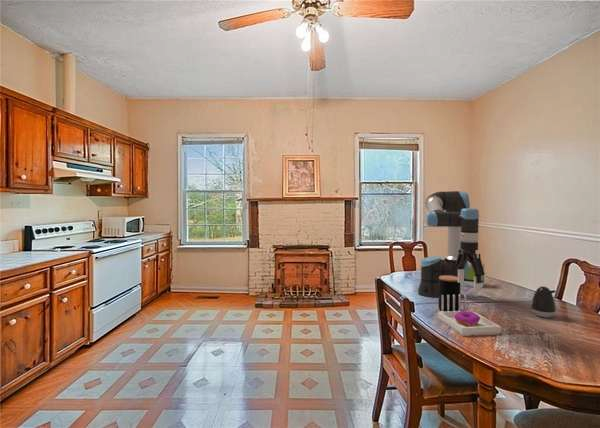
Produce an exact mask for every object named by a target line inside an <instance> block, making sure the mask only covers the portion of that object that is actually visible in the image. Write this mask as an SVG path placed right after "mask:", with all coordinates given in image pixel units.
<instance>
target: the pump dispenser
mask: <svg viewBox="0 0 600 428" xmlns="http://www.w3.org/2000/svg"><path fill="white" fill-rule="evenodd" d="M556 292H557V291H556V290H555V289H554V290H550V289H549V287H547V286H540V287H537V289H536V290H535V292H534V295H533V296H532V300H531V303H530V304H531V305H530V307H531V310H532V313H533V314H534V315H536V316H537V317H540V318H544V319H545V318H546V319H548V318H551V317H553V316H554V315H555V312H556V311H557V309H556V308H557V307H556V301H555V297H554V295H553V294H554V293H555V294H556Z"/></svg>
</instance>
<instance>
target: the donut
mask: <svg viewBox="0 0 600 428" xmlns="http://www.w3.org/2000/svg"><path fill="white" fill-rule="evenodd" d="M469 311H470V310H466V311H464V310H461V311H460V312H458V313H457V314H456V315H455V319H456V321H457V322H458V323H462V324H465V325H468V326H473V325H476V324H477V323H478V322H479V320H480V317H479V316H478V315H477V314H478V313H477V314H475V313H473V312H469Z"/></svg>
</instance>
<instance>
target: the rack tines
mask: <svg viewBox="0 0 600 428" xmlns="http://www.w3.org/2000/svg"><path fill="white" fill-rule="evenodd" d="M461 297H462V295H461V293H460V294H459V307H458V311H462V309H461V307H462V304H461V303H462V301H461V300H462V298H461ZM463 298H464V299H463V300H464V301H463V311H467V294H466V293H465V294H464V296H463ZM447 311H449V295H447ZM453 311H455V295H453ZM440 312H444V295H442V305H441V311H440Z"/></svg>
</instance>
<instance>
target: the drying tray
mask: <svg viewBox="0 0 600 428" xmlns="http://www.w3.org/2000/svg"><path fill="white" fill-rule="evenodd" d="M468 311H469V312H473V313H475V314H477V315H478V316H479V317H480V320H479V322H478V323H477V324H476V325H473V326H468V325H465V324H462V323H458V322H457V321H456V319H455V315H456V314H457V313H458V312H460V311H444V312H441V311H437V319H438V320H439V319H440V320H441V322H442V321H443V322H444V323H443V322H442V323H443V324H445V325H446V324H447V325H448V326H447V325H446V326H447V327H448V328H450V327H451V329H452V330H453V331H454V330H455V331H454V332H456V333H457V332H458V333H457V334H459V335H460V336H461V335H462V337H465V336H467V337H470V336H471V335H474V336H495V335H502V326H501V325H499V324H497V323H495V322H493V321H492V320H490V319H488V318H486V317H484V316H483V315H481V314H479V313H477V312H475V311H473V310H468ZM440 320H439V321H440Z"/></svg>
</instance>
